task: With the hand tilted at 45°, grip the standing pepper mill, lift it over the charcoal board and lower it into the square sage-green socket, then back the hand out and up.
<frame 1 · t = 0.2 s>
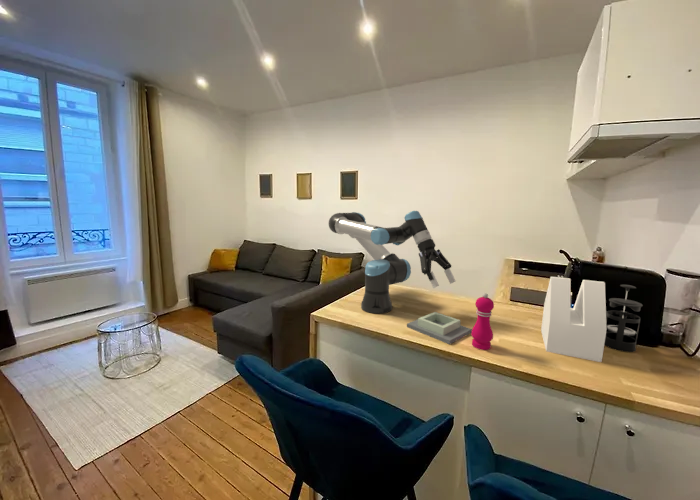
hand: (444, 284, 131), 16 cm above the worktop, tool tilted 35°, fingers open, 13 cm apart
pepper mill: (481, 346, 109), on the worktop
white notched cradle block: (567, 345, 111), on the worktop
french press: (618, 345, 110), on the worktop
socket board: (438, 329, 123), on the worktop
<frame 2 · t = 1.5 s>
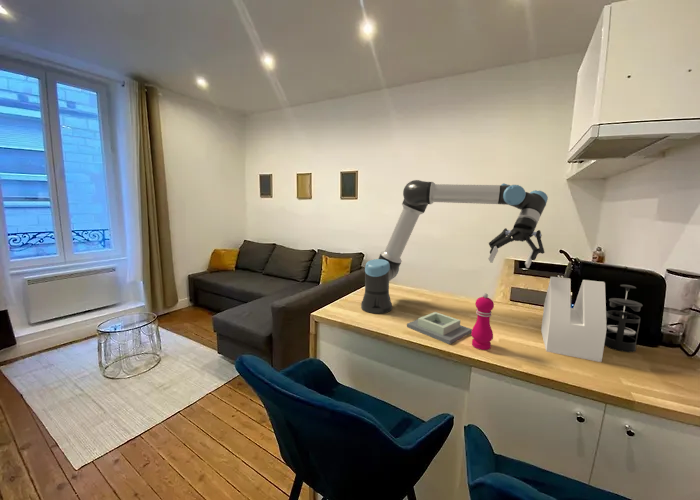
hand: (507, 263, 116), 29 cm above the worktop, tool tilted 45°, fingers open, 13 cm apart
nothing on the worktop moved.
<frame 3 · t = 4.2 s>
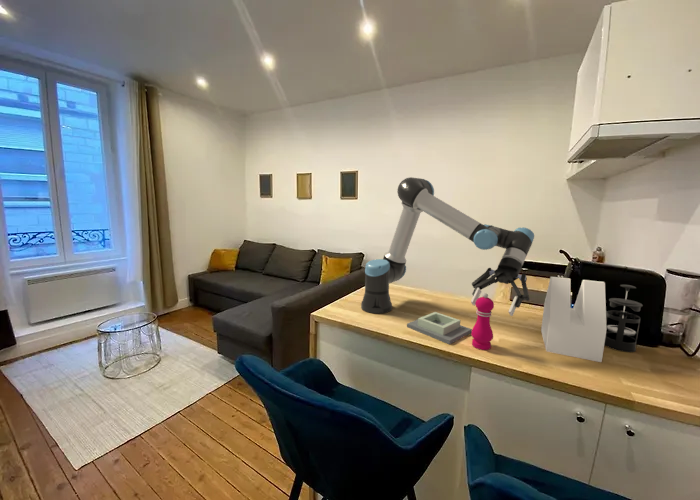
hand: (490, 308, 108), 14 cm above the worktop, tool tilted 45°, fingers open, 13 cm apart
nothing on the worktop moved.
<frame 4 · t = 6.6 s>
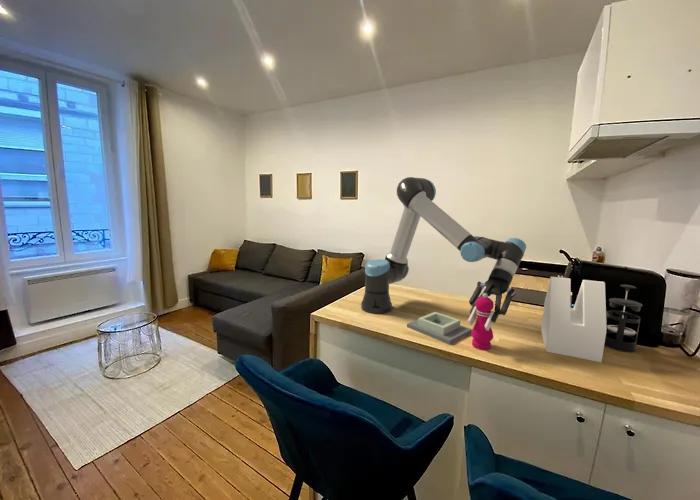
hand: (477, 325, 106), 9 cm above the worktop, tool tilted 45°, fingers closed on pepper mill, 5 cm apart
pepper mill: (481, 346, 109), on the worktop, touching gripper
everything else where it was.
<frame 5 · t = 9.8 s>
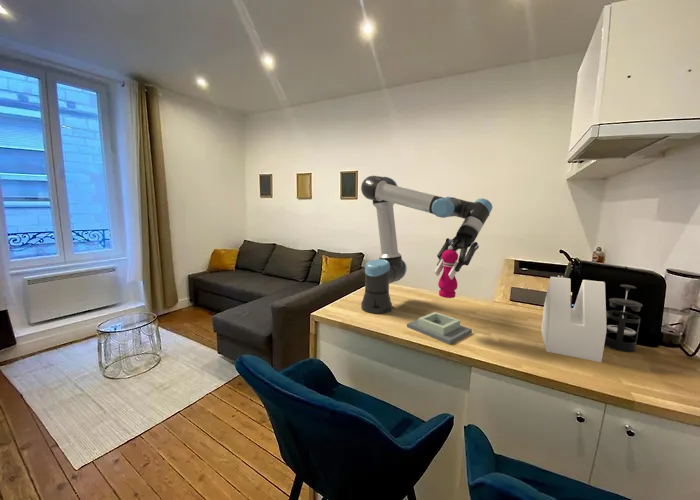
hand: (443, 275, 115), 24 cm above the worktop, tool tilted 45°, fingers closed on pepper mill, 5 cm apart
pepper mill: (446, 296, 118), point 15 cm above the worktop, touching gripper
everything else where it was.
when the fingers open (12 cm above the worktop, at t = 13.2 s): pepper mill drops 1 cm, resting on socket board.
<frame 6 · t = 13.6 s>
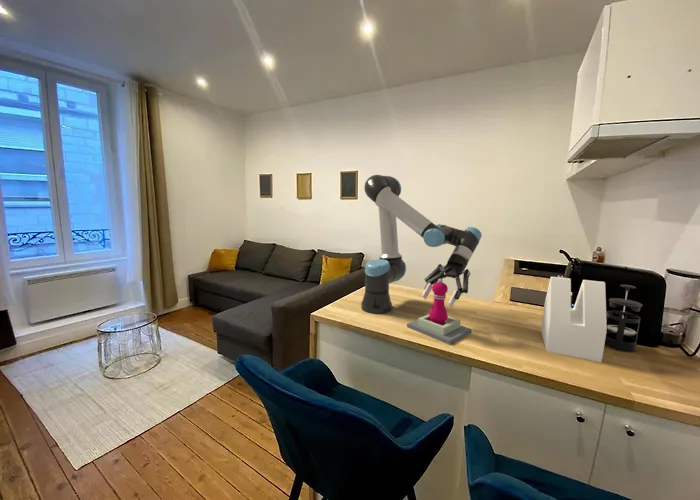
hand: (436, 301, 119), 13 cm above the worktop, tool tilted 45°, fingers open, 11 cm apart
pepper mill: (437, 326, 123), point 1 cm above the worktop, touching socket board
everything else where it was.
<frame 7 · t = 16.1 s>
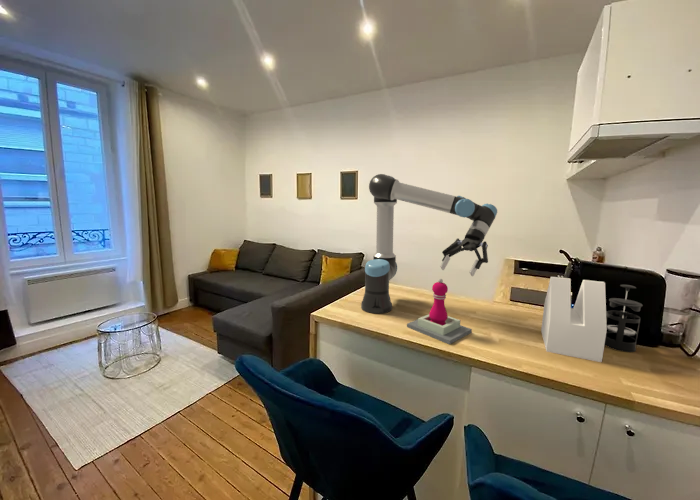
hand: (455, 271, 126), 23 cm above the worktop, tool tilted 45°, fingers open, 13 cm apart
nothing on the worktop moved.
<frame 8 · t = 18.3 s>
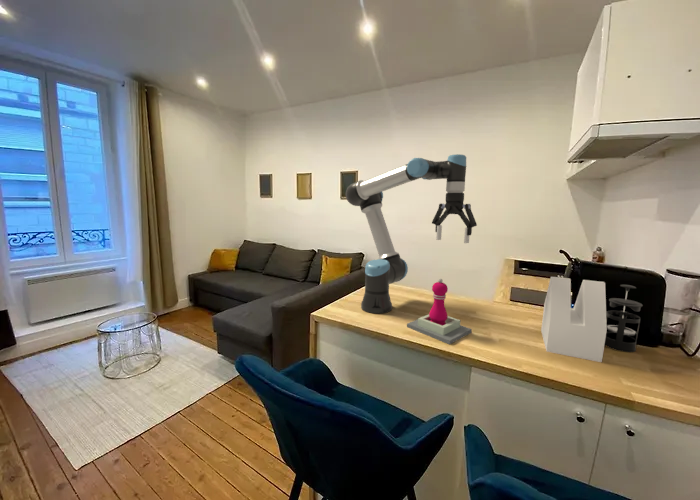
hand: (452, 241, 132), 35 cm above the worktop, tool pointing down, fingers open, 13 cm apart
nothing on the worktop moved.
at the end: pepper mill 0.5 cm off-centre on the socket board, point 1.3 cm above the socket board's base; pepper mill tilted 0°; the gripper is holding nothing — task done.
